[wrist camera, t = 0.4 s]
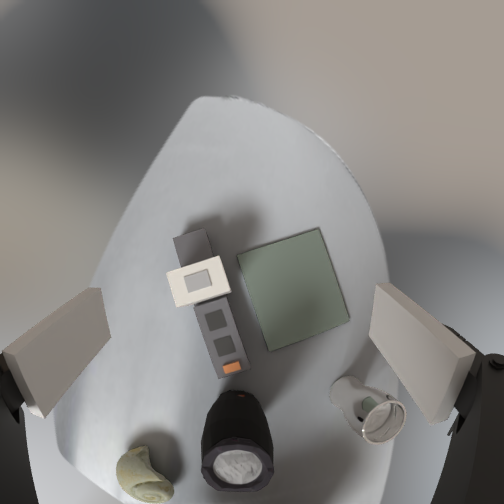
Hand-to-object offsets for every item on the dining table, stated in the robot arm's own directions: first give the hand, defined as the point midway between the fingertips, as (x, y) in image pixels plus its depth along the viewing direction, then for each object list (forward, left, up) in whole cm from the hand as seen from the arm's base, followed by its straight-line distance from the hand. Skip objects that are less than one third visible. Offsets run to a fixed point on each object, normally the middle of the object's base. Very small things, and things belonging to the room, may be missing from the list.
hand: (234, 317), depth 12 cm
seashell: (-26, +27, -32) cm, 49 cm away
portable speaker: (-17, +6, -32) cm, 37 cm away
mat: (-1, -9, -32) cm, 33 cm away
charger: (+4, +4, -30) cm, 31 cm away
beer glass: (-21, -12, -32) cm, 40 cm away
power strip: (+1, +4, -32) cm, 32 cm away
